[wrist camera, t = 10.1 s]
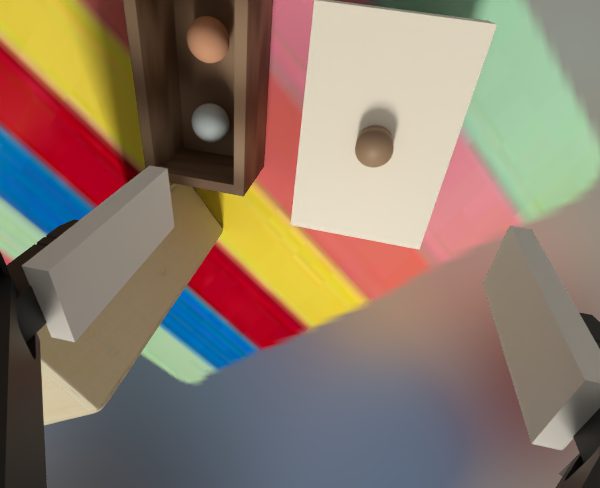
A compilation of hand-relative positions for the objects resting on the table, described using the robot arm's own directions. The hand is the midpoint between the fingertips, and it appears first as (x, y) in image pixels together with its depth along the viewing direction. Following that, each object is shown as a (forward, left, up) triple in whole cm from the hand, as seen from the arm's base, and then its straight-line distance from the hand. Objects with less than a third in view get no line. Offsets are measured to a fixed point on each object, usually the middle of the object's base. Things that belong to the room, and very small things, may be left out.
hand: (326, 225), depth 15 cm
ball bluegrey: (+3, -11, -18) cm, 21 cm away
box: (0, -11, -19) cm, 22 cm away
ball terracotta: (-3, -11, -18) cm, 22 cm away
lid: (+1, +2, -15) cm, 15 cm away
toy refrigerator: (+14, -16, -19) cm, 29 cm away
